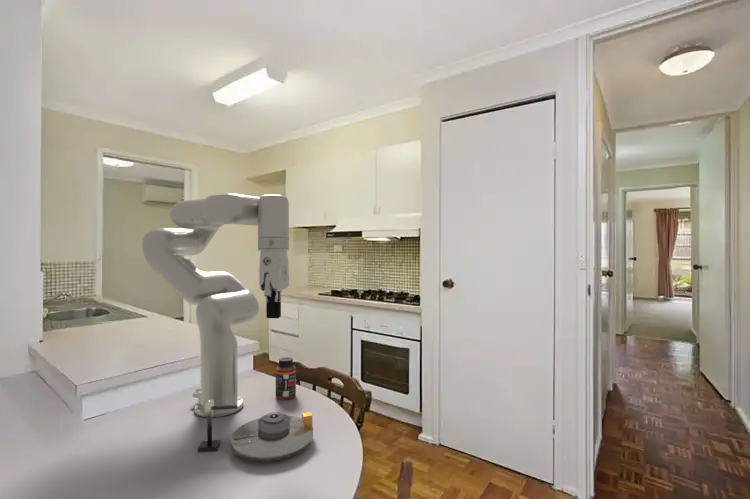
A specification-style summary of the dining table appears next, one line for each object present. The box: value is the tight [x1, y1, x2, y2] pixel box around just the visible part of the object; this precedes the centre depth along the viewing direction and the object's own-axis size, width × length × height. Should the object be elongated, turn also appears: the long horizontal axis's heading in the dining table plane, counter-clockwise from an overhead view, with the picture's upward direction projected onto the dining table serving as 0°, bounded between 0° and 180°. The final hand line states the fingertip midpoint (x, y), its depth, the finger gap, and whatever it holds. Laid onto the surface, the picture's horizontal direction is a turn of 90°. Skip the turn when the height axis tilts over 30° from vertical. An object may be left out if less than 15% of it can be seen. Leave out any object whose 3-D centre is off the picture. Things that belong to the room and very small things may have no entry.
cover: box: [258, 411, 290, 441], centre depth 89 cm, size 7×7×4 cm
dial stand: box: [197, 399, 238, 453], centre depth 87 cm, size 8×4×11 cm, turn 97°
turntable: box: [230, 411, 314, 462], centre depth 89 cm, size 18×18×4 cm
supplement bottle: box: [275, 356, 297, 401], centre depth 116 cm, size 6×6×11 cm
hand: (273, 317), depth 98 cm, fingers closed
